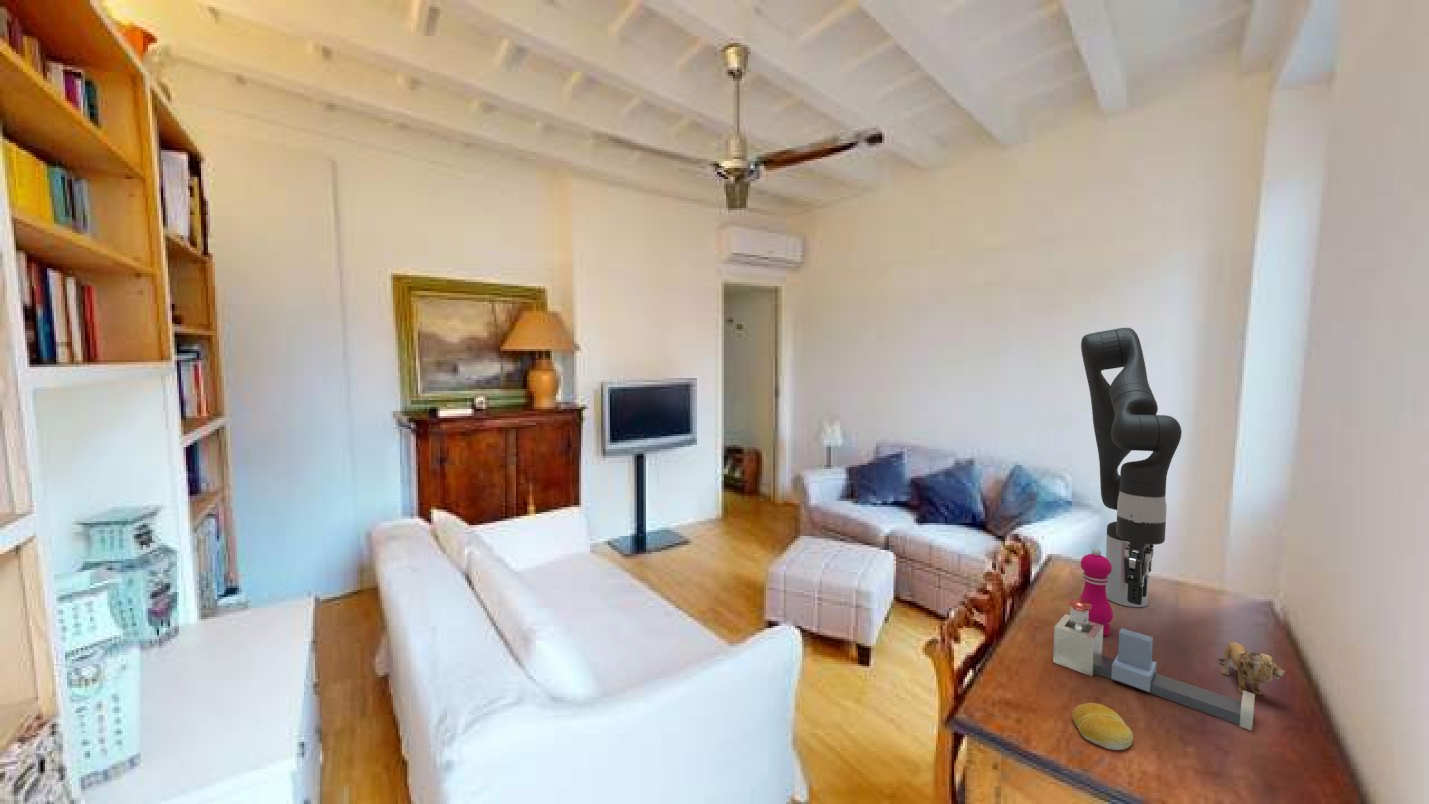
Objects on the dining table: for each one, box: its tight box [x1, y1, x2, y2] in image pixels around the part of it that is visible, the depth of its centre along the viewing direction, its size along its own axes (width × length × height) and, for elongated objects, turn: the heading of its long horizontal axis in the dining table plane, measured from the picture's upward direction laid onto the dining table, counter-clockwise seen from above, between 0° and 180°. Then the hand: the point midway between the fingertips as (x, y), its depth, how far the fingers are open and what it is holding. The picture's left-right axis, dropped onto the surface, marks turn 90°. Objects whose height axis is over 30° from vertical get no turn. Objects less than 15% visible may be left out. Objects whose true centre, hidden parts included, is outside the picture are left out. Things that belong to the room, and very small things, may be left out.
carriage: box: [1110, 628, 1158, 693], centre depth 106 cm, size 7×6×9 cm
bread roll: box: [1071, 702, 1134, 751], centre depth 92 cm, size 8×9×4 cm
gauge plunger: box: [1068, 597, 1091, 632], centre depth 113 cm, size 4×4×6 cm
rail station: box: [1052, 613, 1256, 732], centre depth 105 cm, size 8×30×8 cm, turn 42°
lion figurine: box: [1218, 641, 1286, 696], centre depth 105 cm, size 15×5×9 cm, turn 164°
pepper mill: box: [1079, 548, 1114, 637], centre depth 126 cm, size 7×7×20 cm
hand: (1136, 598), depth 105 cm, fingers open, 4 cm apart
